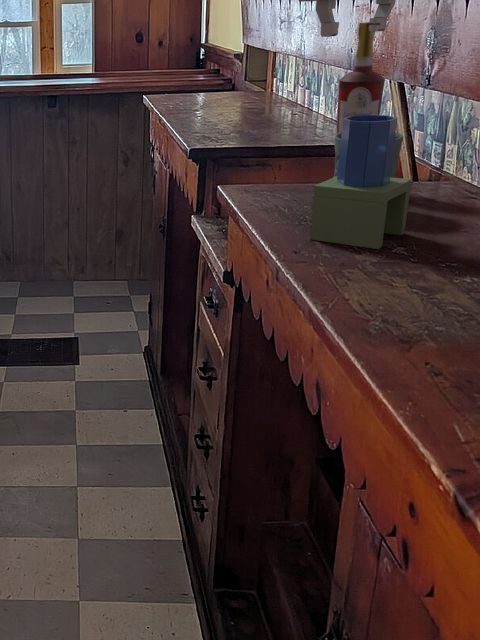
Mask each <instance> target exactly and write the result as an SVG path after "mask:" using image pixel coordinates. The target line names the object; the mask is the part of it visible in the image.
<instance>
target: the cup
mask: <svg viewBox="0 0 480 640" xmlns="http://www.w3.org/2000/svg"><path fill="white" fill-rule="evenodd" d="M397 126H398V117H396V116H392V115H387V114H384V115H383V114H380V115H357V116H349V117H346V118H343V124H342V134H341V145H340V155H339V166H338V176H337V182H338V183H340V184H342V185H344V186H352V187H362V188H363V187H364V188H365V187H380V186H384V185H386V184H388V183H390V177H391V168H392V160H393V152H394V143H395V135H396V132H397Z"/></svg>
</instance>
